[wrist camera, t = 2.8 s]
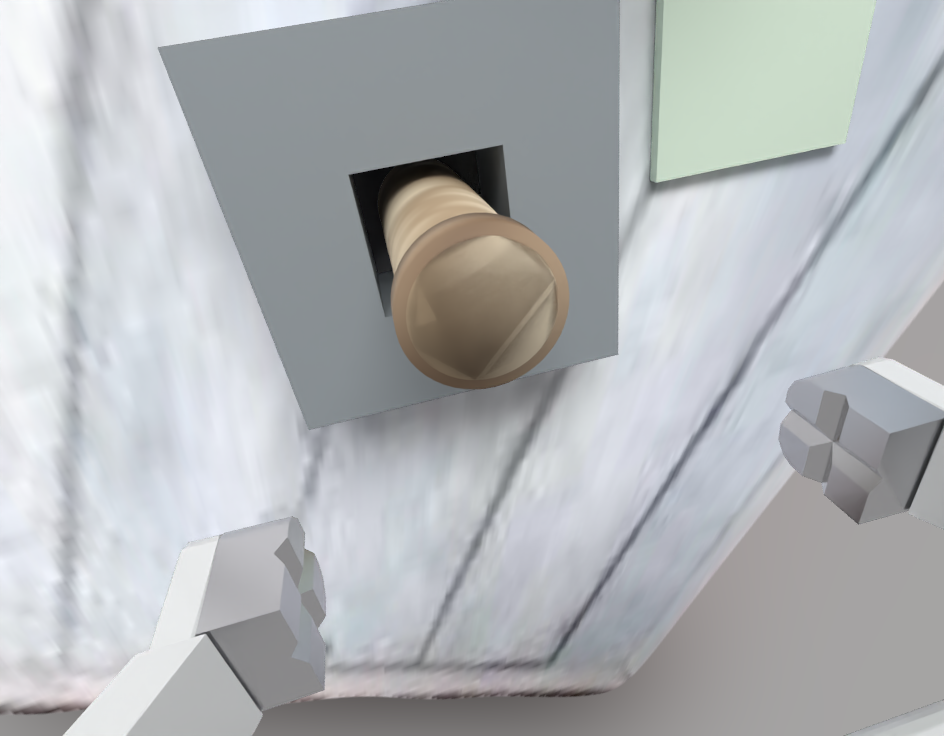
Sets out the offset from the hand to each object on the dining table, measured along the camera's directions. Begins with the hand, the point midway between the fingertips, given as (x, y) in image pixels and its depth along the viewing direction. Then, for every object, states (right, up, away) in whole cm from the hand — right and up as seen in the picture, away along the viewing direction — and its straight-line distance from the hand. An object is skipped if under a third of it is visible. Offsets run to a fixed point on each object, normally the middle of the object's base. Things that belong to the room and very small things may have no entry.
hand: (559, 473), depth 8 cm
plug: (-4, +9, +15) cm, 18 cm away
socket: (-4, +9, +15) cm, 18 cm away
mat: (+11, +16, +15) cm, 24 cm away
